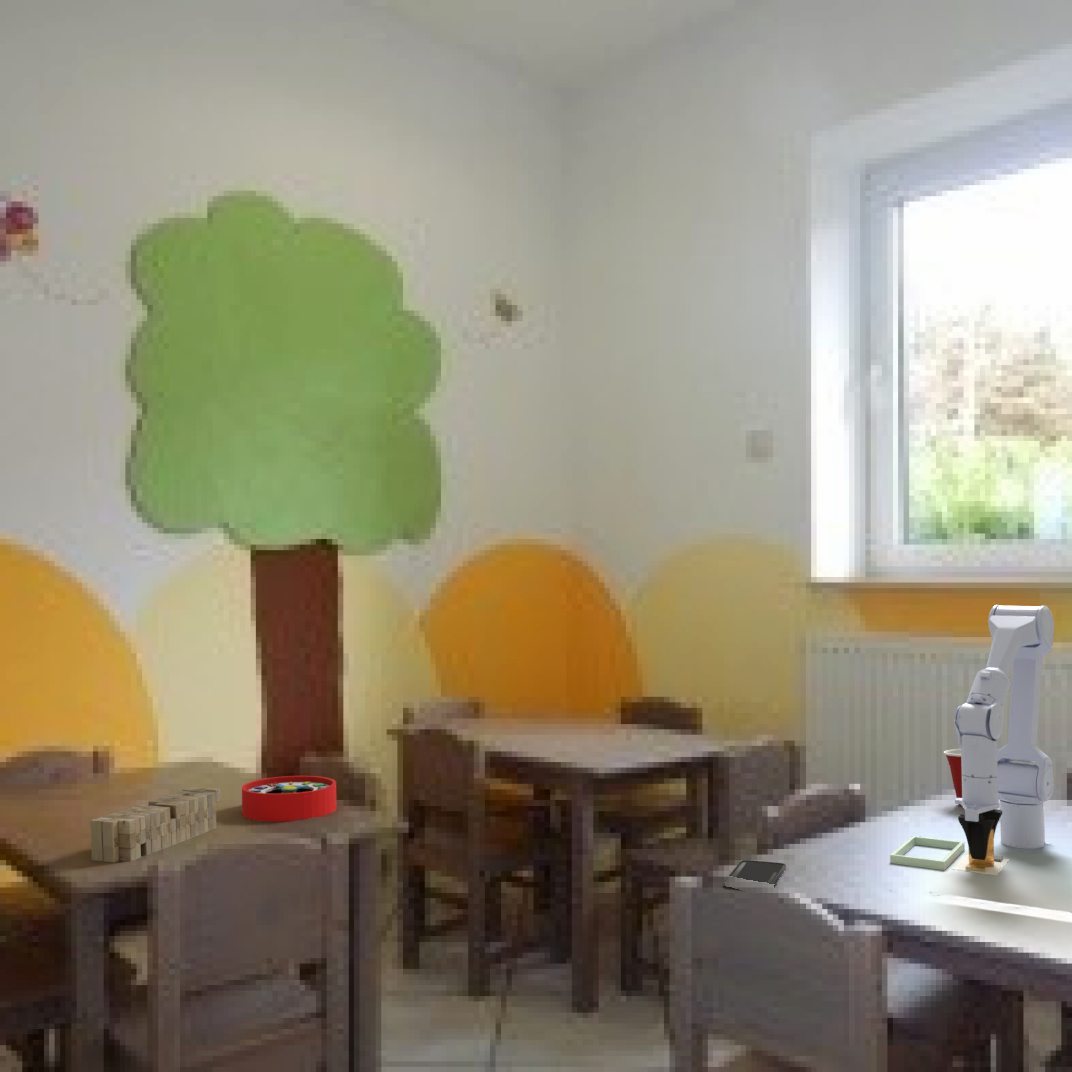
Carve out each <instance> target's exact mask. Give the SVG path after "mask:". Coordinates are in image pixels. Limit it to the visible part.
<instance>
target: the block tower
mask: <svg viewBox="0 0 1072 1072" xmlns="http://www.w3.org/2000/svg"><path fill="white" fill-rule="evenodd" d="M220 801H221V789H220V788H216V787H215V788H212V787H188V788H187V787H186V788H183V789H181V790H179V791H177V792H174V793H171V794H168V795H167V794H166V795H165V796H160V797H157V798H155V799H151V800H149V801H148V805H146V804H137V805H135V806H132V807H128V808H126V809H124V810H119V811H115V812H112V813H110V814H109V813H108V814H106V815H103V816H101V817H98V818H93V819H91V820H90V821H89V822H90V843H91V844H90V845H91V847H90V848H91V861H97V862H109V863H116V862H119V861H125V862H133V861H135V860H137V859H141V858H142V856H147V855H151V854H154V853H156V852H158V851H161V850H164V849H167V848H169V847H172V846H175V845H177V844H180V843H182V842H185V841H187V840H190V839H193V838H195V837H198V836H199V835H203V834H206V833H207V832H209V831H212V830H215V829H217V807H216V806H217V805H216V804H217V803H218V802H220Z"/></svg>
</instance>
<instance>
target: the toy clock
mask: <svg viewBox="0 0 1072 1072" xmlns="http://www.w3.org/2000/svg"><path fill="white" fill-rule="evenodd" d="M336 810H337V781H336V780H335V779H333V778H330V777H325V776H317V775H287V776H284V775H283V776H275V777H274V776H273V777H267V778H262V779H261V778H260V779H256V780H254V781H250V782H249V781H248V782H247V783H245V784H243V785H242V786H241V815H242V817H244V818H246V819H249V820H253V821H259V822H294V821H293V820H297V821H299V820H298V819H305V820H309V819H308V818H312V817H317V818H321V817H324V815H325V816H327V814H328V815H330V814H332V813H334V812H336ZM329 813H330V814H329ZM312 819H313V818H312Z"/></svg>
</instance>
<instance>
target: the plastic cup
mask: <svg viewBox="0 0 1072 1072" xmlns="http://www.w3.org/2000/svg"><path fill="white" fill-rule="evenodd" d="M943 754H944V755H945V756H946V757H945V758H946V759H947V761H948V765H949V768H950V773H951V778H952V783H953V787H954V791H955V796H956V798H962V766H961V748H952V749H947V750H944V751H943ZM957 805H958V807H960V808H963V806H962V805H961V804H957Z"/></svg>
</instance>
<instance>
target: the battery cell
mask: <svg viewBox="0 0 1072 1072" xmlns="http://www.w3.org/2000/svg"><path fill="white" fill-rule="evenodd" d="M994 840H995V835H994V830H993V828H992V829H991V832H990V835H989V840H988V849H987V855H986V858H985V860H979V859H972V857H971V854H970V850H969V849H968V854H969V864H970V865H977V866H985V867H993V866H994V855H995V841H994Z"/></svg>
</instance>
